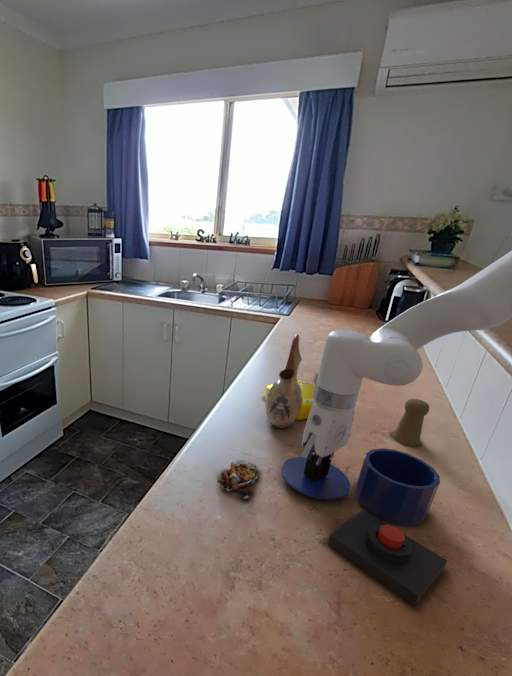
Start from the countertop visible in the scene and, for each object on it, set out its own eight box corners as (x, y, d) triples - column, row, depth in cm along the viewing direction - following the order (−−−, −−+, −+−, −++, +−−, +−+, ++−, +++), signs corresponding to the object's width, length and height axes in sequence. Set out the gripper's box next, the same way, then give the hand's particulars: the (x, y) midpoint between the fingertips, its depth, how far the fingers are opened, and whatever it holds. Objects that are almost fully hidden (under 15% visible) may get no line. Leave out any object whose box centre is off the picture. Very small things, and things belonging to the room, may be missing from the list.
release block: (443, 570, 64) (451, 552, 63) (413, 606, 58) (422, 587, 57) (359, 518, 75) (365, 501, 73) (327, 544, 68) (332, 526, 67)
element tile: (296, 421, 108) (299, 405, 106) (261, 398, 120) (264, 383, 119) (336, 412, 114) (340, 397, 112) (299, 391, 126) (302, 377, 125)
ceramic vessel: (269, 407, 115) (283, 324, 105) (301, 415, 111) (319, 329, 102) (255, 433, 101) (271, 340, 91) (291, 443, 98) (312, 347, 88)
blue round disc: (361, 486, 82) (369, 461, 80) (325, 512, 74) (332, 485, 72) (304, 454, 92) (310, 431, 89) (267, 474, 84) (271, 450, 82)
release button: (405, 543, 65) (408, 535, 64) (395, 553, 63) (398, 545, 62) (383, 529, 67) (386, 521, 67) (373, 538, 65) (375, 530, 65)
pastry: (262, 469, 87) (264, 455, 86) (248, 501, 77) (250, 486, 76) (231, 459, 90) (233, 446, 89) (213, 489, 80) (215, 475, 79)
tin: (436, 508, 78) (450, 472, 75) (408, 535, 71) (422, 498, 68) (373, 474, 87) (383, 442, 84) (342, 496, 80) (352, 461, 77)
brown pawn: (397, 443, 100) (410, 405, 96) (389, 431, 105) (401, 394, 101) (423, 447, 99) (437, 408, 95) (413, 434, 105) (426, 397, 100)
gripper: (329, 414, 68) (308, 500, 75) (375, 393, 77) (352, 471, 84) (292, 398, 73) (276, 479, 81) (339, 380, 83) (321, 454, 90)
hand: (315, 474), depth 82 cm, fingers closed on blue round disc, 2 cm apart
